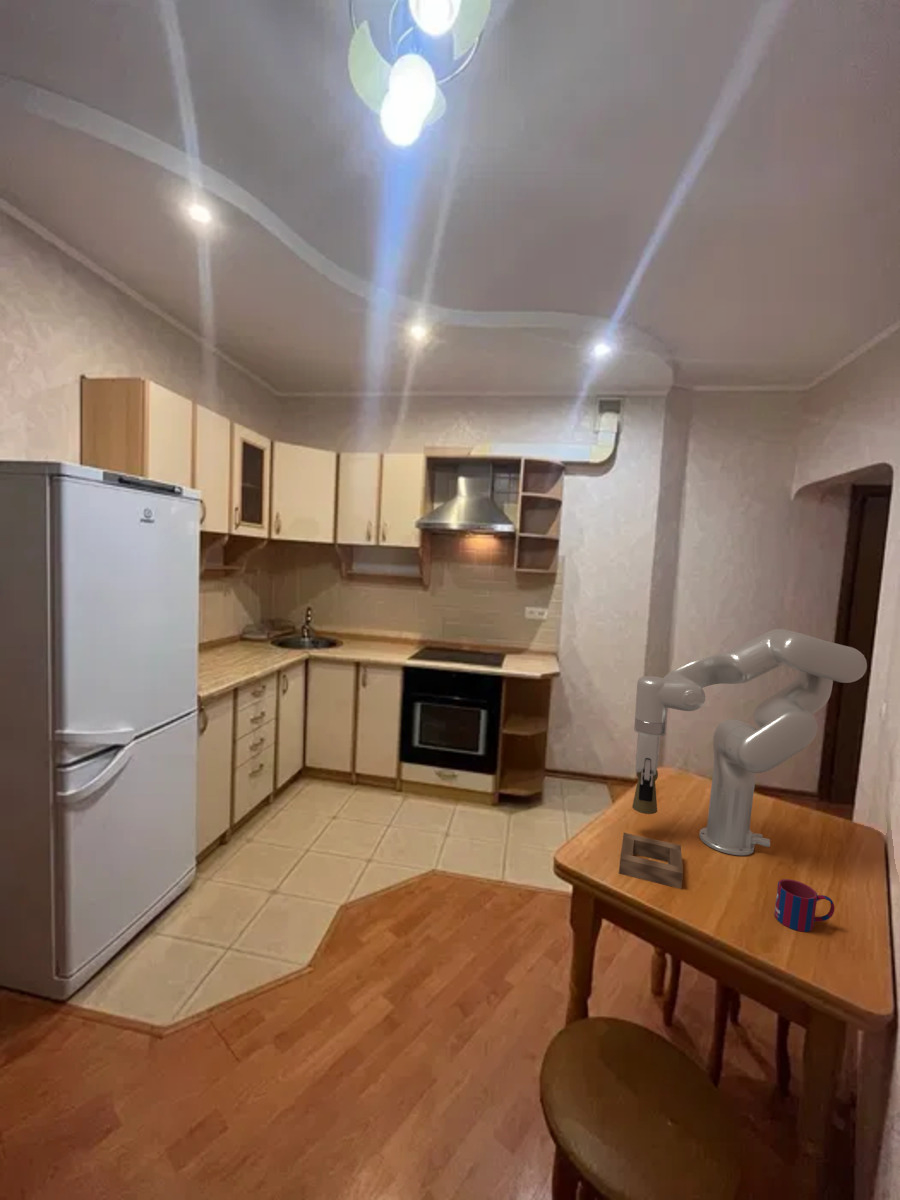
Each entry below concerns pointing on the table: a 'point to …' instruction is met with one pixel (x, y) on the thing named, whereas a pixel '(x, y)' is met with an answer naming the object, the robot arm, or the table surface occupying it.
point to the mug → (798, 905)
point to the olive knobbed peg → (642, 805)
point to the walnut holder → (648, 868)
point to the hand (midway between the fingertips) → (645, 795)
